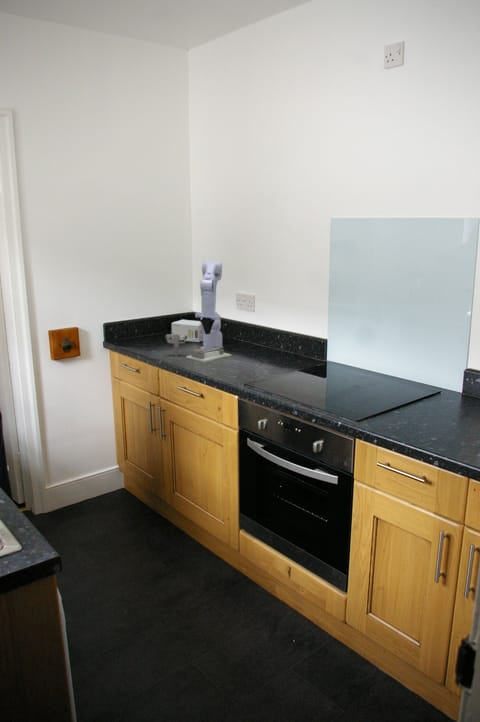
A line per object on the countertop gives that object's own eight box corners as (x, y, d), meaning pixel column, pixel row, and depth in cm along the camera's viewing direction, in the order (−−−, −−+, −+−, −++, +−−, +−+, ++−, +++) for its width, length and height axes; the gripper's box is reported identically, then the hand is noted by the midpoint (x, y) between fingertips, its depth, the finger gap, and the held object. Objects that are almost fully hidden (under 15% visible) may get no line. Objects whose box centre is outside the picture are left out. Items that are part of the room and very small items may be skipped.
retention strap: (215, 347, 281) (215, 345, 281) (222, 348, 278) (222, 346, 278) (193, 352, 270) (193, 350, 270) (200, 353, 268) (200, 351, 267)
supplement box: (171, 339, 316) (170, 322, 314) (183, 335, 328) (182, 319, 326) (199, 342, 310) (198, 325, 308) (210, 338, 322) (210, 321, 320)
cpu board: (213, 352, 286) (213, 344, 285) (231, 356, 278) (231, 348, 277) (186, 358, 273) (186, 350, 272) (204, 362, 265) (204, 354, 264)
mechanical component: (186, 356, 276) (186, 335, 274) (165, 356, 276) (164, 335, 274) (187, 355, 279) (187, 334, 277) (166, 354, 279) (165, 334, 277)
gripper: (190, 304, 275) (190, 332, 278) (212, 307, 266) (212, 337, 269) (201, 303, 280) (201, 331, 284) (223, 306, 271) (223, 335, 274)
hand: (207, 333), depth 277 cm, fingers closed
